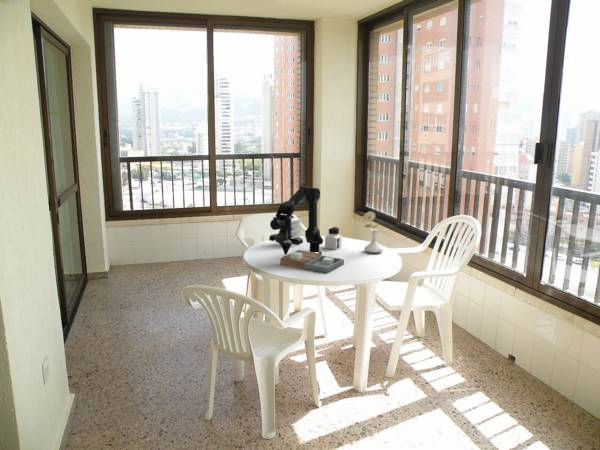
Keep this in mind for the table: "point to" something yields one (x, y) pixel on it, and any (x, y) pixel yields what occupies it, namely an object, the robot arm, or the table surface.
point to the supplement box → (295, 229)
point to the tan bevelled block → (299, 263)
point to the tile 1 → (296, 255)
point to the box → (323, 265)
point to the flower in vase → (373, 246)
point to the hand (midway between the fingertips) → (285, 254)
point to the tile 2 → (328, 260)
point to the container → (333, 239)
